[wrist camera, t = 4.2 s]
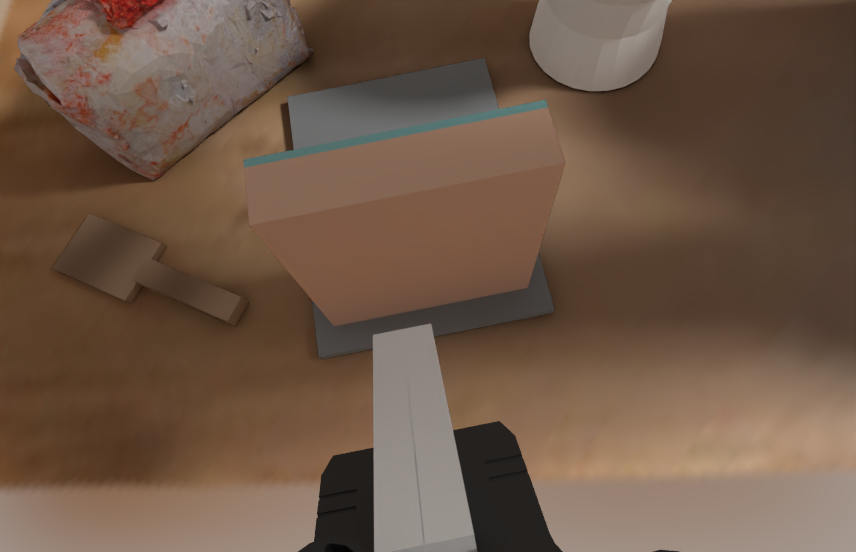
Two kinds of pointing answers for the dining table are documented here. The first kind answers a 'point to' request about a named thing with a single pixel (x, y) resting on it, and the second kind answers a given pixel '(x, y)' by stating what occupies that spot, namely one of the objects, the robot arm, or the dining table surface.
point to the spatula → (139, 270)
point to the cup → (597, 40)
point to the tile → (411, 211)
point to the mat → (394, 109)
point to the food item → (157, 69)
